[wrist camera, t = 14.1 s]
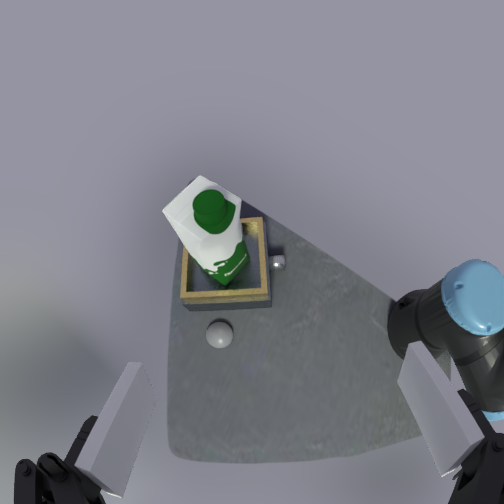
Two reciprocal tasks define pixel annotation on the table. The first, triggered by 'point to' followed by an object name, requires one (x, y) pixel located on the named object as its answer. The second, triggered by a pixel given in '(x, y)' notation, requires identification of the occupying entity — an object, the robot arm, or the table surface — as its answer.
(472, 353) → the robot arm
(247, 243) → the wooden rimmed tray
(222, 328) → the grey round lid
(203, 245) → the soya milk
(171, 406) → the table surface
